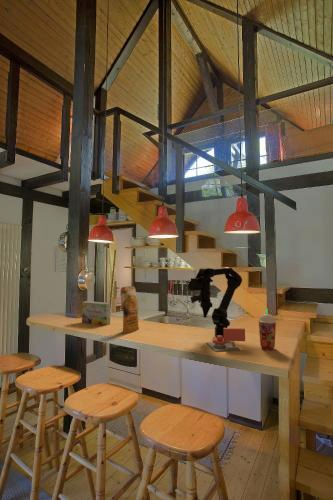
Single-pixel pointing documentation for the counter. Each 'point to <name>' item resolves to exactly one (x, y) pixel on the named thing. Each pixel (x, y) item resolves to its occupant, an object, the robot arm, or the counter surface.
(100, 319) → the snack box
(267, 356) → the counter surface
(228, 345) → the grey base plate
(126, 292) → the pancake mix bag
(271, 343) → the smoothie
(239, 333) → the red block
